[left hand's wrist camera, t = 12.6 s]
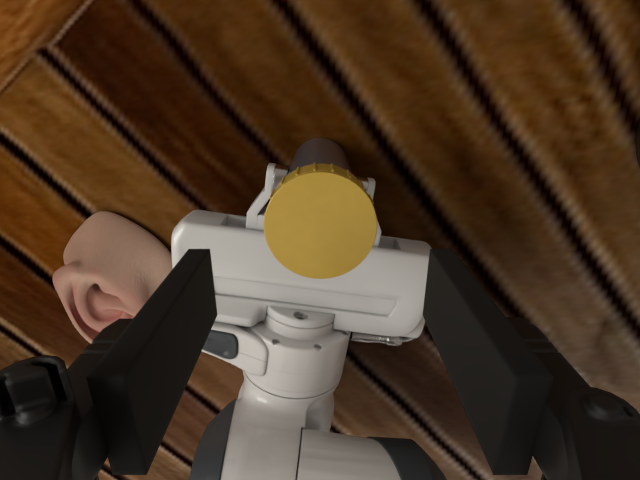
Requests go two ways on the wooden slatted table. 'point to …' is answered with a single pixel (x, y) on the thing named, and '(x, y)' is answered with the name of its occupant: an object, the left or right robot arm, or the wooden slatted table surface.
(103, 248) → the anatomical model
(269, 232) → the lid
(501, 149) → the wooden slatted table surface
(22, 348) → the wooden slatted table surface
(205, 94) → the wooden slatted table surface
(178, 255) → the right robot arm
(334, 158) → the blue-grey cylinder
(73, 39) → the wooden slatted table surface
